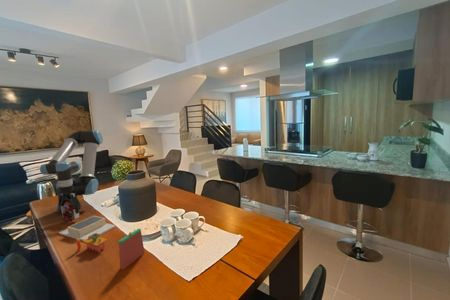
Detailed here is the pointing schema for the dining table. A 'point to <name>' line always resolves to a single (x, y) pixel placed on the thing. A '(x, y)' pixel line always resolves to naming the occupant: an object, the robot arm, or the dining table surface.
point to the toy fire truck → (68, 212)
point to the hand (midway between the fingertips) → (70, 216)
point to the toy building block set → (128, 246)
